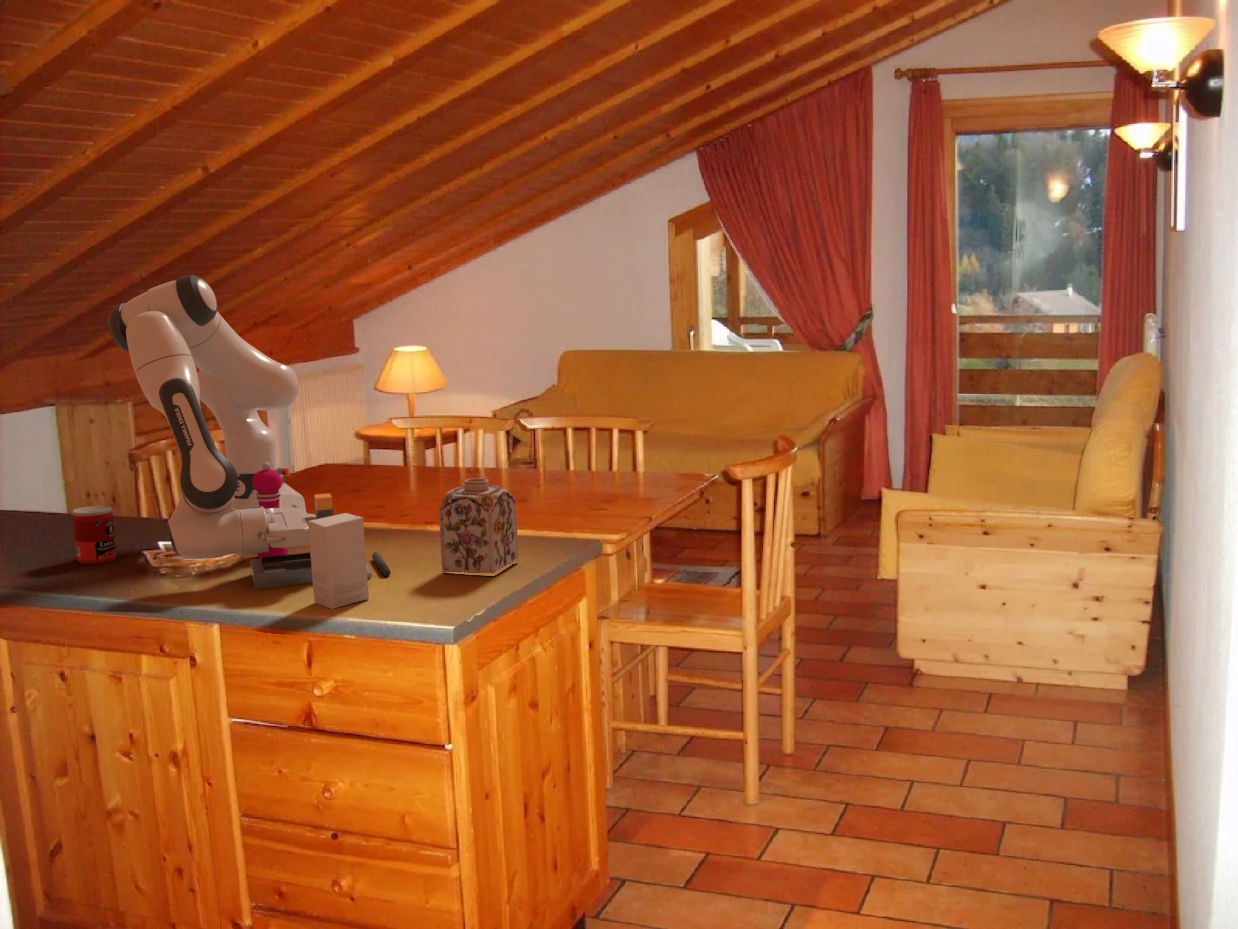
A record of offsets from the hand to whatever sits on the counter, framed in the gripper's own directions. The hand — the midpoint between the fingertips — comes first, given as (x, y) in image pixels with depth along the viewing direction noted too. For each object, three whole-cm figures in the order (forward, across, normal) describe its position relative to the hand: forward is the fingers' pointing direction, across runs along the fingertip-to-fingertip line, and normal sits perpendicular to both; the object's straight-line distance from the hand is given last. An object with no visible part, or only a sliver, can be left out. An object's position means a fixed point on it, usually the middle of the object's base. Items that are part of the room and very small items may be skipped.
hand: (330, 523), depth 248 cm
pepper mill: (-10, +20, +10) cm, 25 cm away
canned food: (-45, +33, +10) cm, 57 cm away
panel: (-6, 0, +10) cm, 12 cm away
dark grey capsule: (+8, 0, +10) cm, 13 cm away
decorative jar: (+28, -9, +10) cm, 31 cm away
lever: (-1, 0, +7) cm, 7 cm away
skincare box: (-1, -22, +10) cm, 24 cm away
